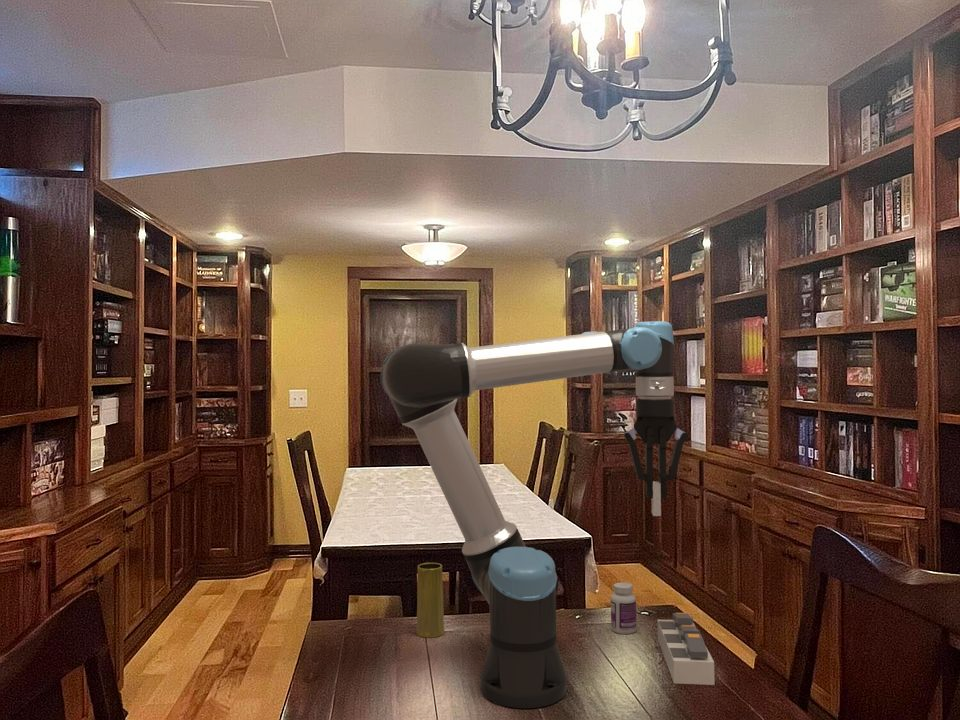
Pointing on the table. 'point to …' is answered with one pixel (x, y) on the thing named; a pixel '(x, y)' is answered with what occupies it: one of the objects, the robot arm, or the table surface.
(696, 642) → the block
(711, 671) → the power strip
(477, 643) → the table surface
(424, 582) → the vase
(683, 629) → the rocker
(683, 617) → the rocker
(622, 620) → the pill bottle
